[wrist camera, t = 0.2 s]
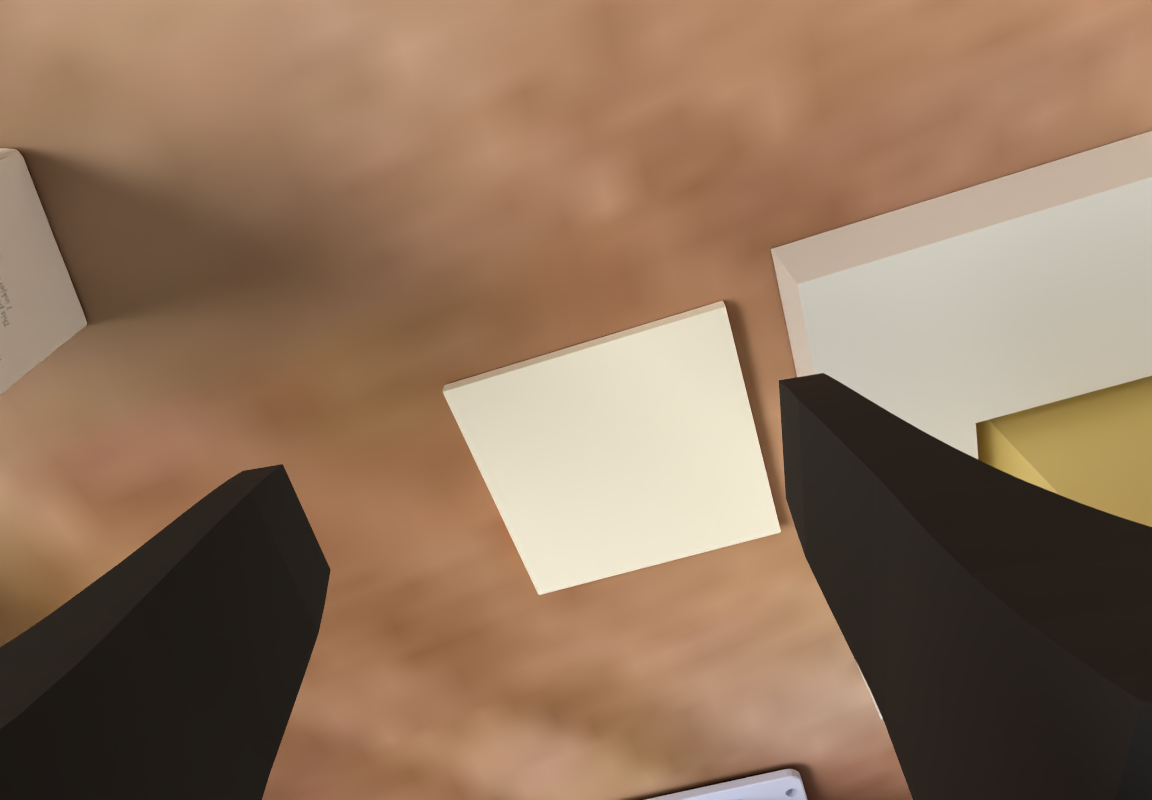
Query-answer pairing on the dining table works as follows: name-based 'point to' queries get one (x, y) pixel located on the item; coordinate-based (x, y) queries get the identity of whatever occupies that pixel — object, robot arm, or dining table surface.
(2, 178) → the ink cartridge box
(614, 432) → the mat
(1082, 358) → the holder
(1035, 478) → the block
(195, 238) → the dining table surface
